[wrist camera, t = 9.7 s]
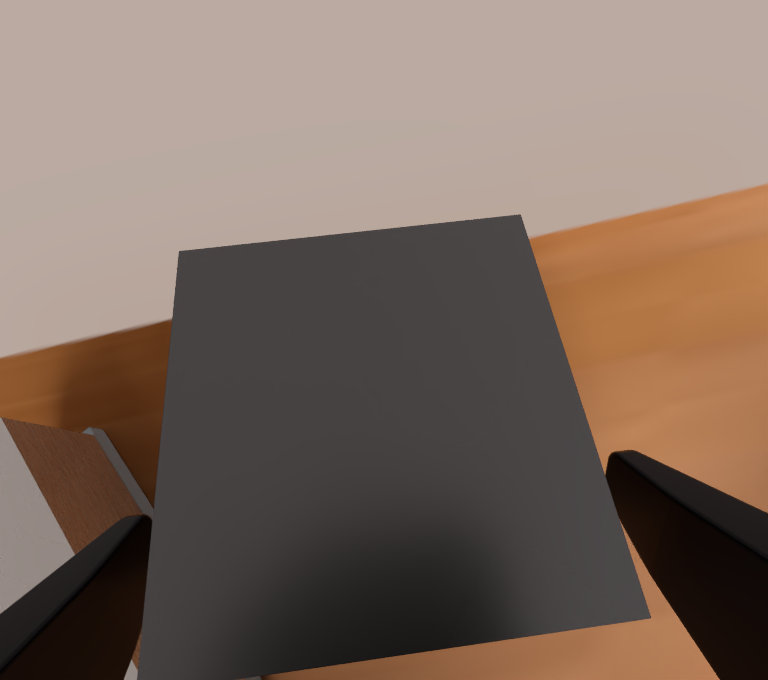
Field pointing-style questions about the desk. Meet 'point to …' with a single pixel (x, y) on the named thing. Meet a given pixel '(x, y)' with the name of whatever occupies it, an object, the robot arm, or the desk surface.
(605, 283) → the desk surface
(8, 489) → the bar
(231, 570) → the steel block
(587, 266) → the desk surface
